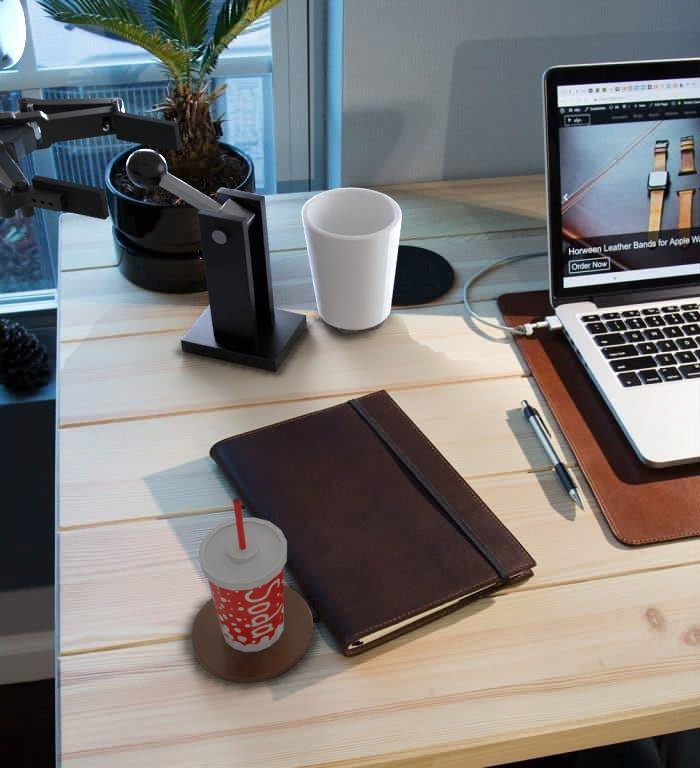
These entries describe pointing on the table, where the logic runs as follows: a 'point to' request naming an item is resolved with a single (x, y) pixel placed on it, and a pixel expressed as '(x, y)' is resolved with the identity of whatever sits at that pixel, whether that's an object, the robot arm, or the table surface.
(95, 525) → the table surface
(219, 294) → the switch bracket
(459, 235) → the table surface
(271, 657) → the coaster
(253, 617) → the beverage cup
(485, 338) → the table surface
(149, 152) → the switch lever
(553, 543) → the table surface
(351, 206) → the cup
